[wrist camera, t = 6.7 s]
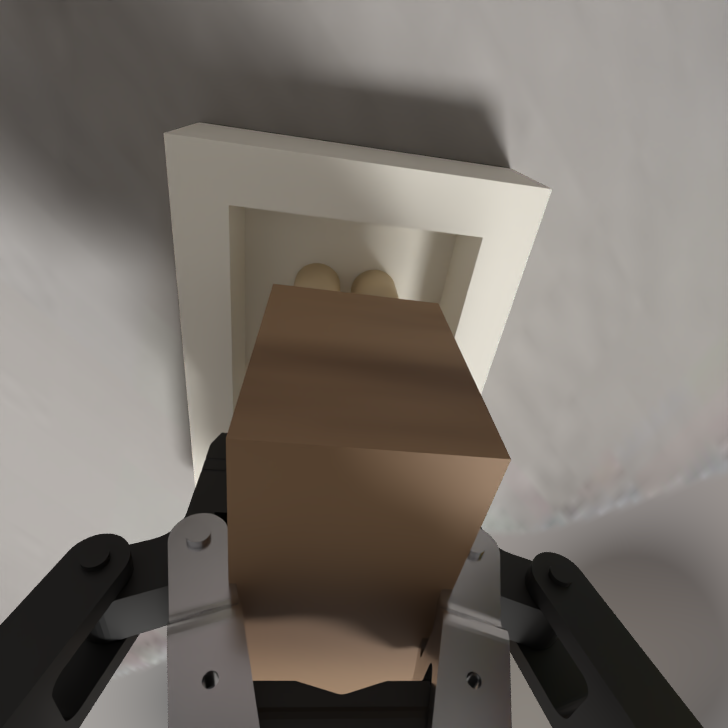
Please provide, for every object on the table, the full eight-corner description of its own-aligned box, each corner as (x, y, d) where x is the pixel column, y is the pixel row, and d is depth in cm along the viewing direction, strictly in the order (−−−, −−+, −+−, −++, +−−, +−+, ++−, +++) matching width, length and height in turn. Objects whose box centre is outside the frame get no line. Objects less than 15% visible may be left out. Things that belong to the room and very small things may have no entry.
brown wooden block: (273, 283, 12) (225, 438, 7) (438, 303, 12) (510, 459, 7) (262, 528, 17) (231, 718, 12) (377, 534, 17) (395, 718, 12)
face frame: (199, 122, 13) (163, 133, 11) (511, 168, 15) (552, 188, 12) (217, 486, 22) (200, 545, 19) (414, 497, 23) (425, 554, 20)
